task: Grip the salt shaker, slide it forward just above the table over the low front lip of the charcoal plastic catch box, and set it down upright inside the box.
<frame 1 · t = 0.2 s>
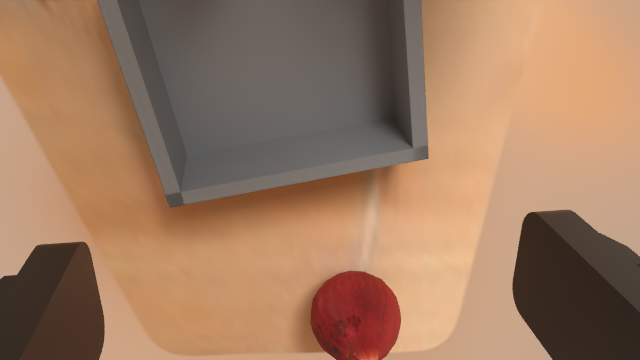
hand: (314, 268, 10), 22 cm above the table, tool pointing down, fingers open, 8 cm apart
catch box: (274, 48, 30), on the table
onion: (345, 277, 39), on the table
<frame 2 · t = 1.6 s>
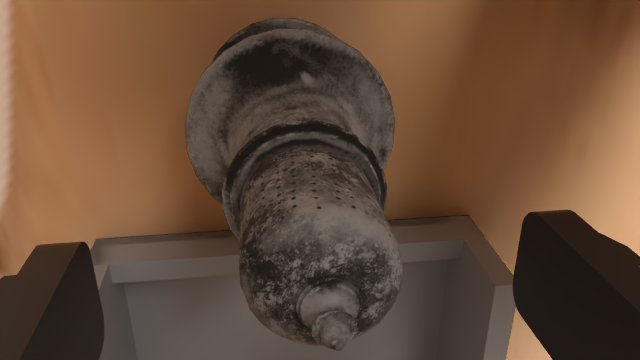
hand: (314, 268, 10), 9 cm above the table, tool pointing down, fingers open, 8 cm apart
catch box: (292, 349, 23), on the table
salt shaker: (283, 96, 19), on the table
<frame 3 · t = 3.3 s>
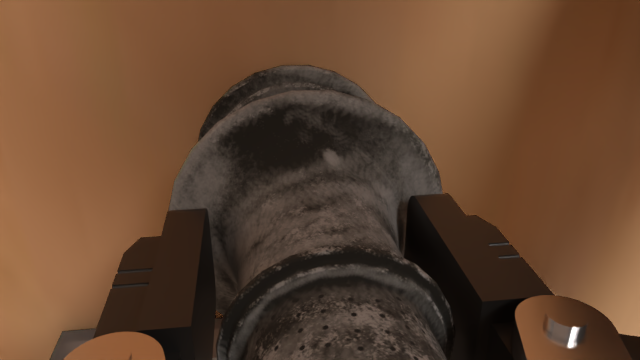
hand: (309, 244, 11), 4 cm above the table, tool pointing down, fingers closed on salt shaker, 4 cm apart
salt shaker: (294, 159, 15), on the table, touching gripper
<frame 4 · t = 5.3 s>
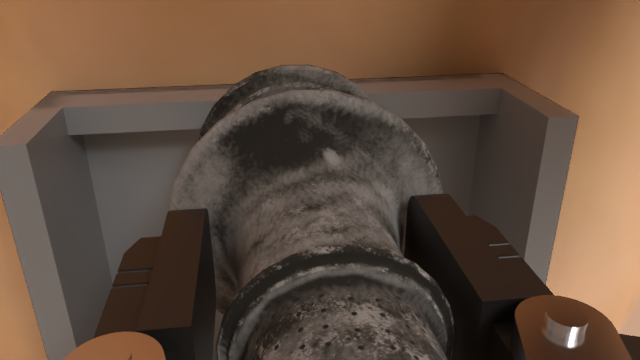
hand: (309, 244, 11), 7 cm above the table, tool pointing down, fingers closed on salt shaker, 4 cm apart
catch box: (292, 247, 20), on the table
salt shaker: (294, 158, 15), point 3 cm above the table, touching gripper
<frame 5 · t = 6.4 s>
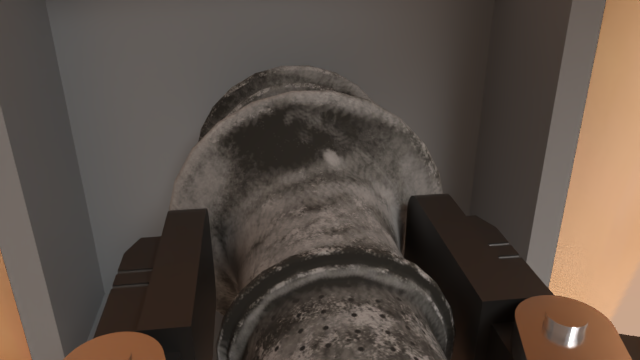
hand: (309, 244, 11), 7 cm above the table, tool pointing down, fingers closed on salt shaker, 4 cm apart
catch box: (284, 132, 17), on the table
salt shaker: (294, 159, 15), point 2 cm above the table, touching gripper
when the fingers open (6 cm above the table, at t = 7.3 s): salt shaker drops 1 cm, resting on catch box.
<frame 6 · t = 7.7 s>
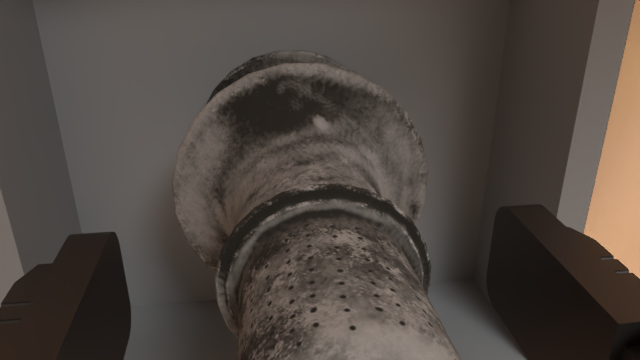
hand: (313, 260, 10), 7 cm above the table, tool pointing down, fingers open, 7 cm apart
catch box: (287, 140, 16), on the table
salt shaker: (291, 140, 16), resting on catch box
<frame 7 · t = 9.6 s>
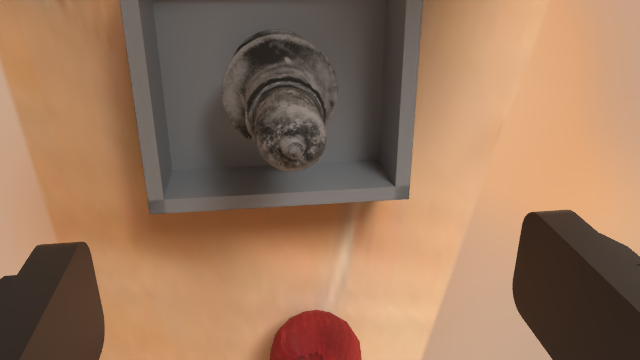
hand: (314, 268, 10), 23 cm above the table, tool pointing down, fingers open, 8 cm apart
catch box: (274, 77, 31), on the table
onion: (309, 319, 39), on the table
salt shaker: (276, 76, 31), resting on catch box
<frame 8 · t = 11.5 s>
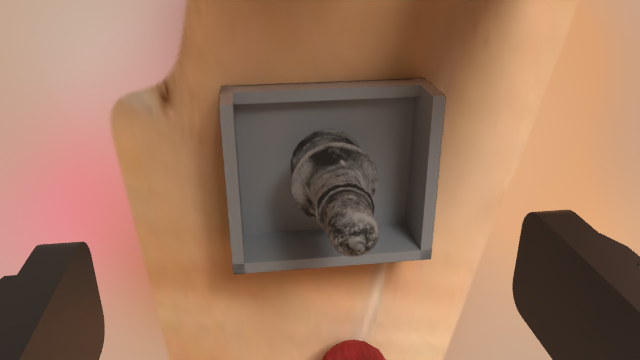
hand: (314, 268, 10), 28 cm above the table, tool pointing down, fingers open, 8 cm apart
catch box: (325, 162, 40), on the table
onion: (346, 345, 48), on the table
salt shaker: (326, 162, 40), resting on catch box
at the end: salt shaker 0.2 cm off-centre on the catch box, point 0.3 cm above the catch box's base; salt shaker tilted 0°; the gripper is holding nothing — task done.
